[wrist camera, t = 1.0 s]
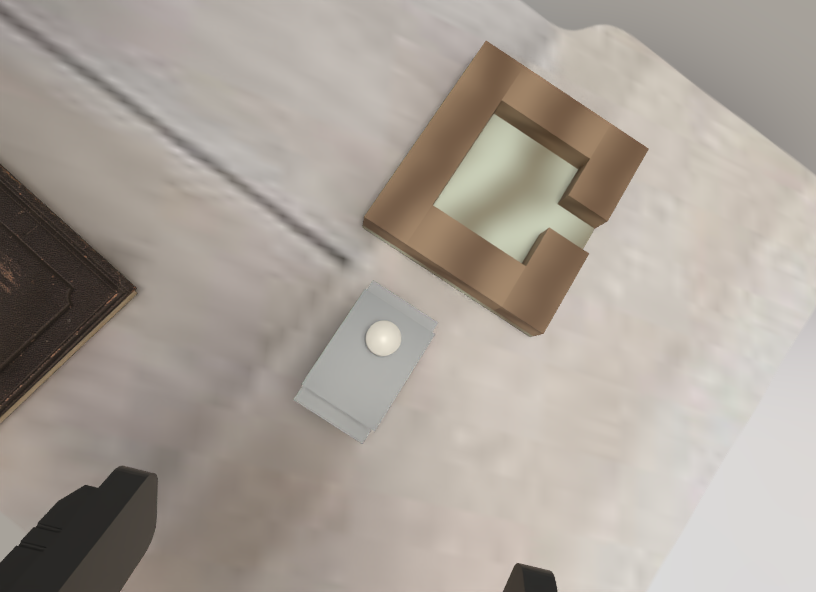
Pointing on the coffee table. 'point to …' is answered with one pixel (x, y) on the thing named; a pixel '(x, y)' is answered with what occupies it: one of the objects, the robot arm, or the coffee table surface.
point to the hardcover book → (46, 292)
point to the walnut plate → (506, 190)
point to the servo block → (367, 362)
